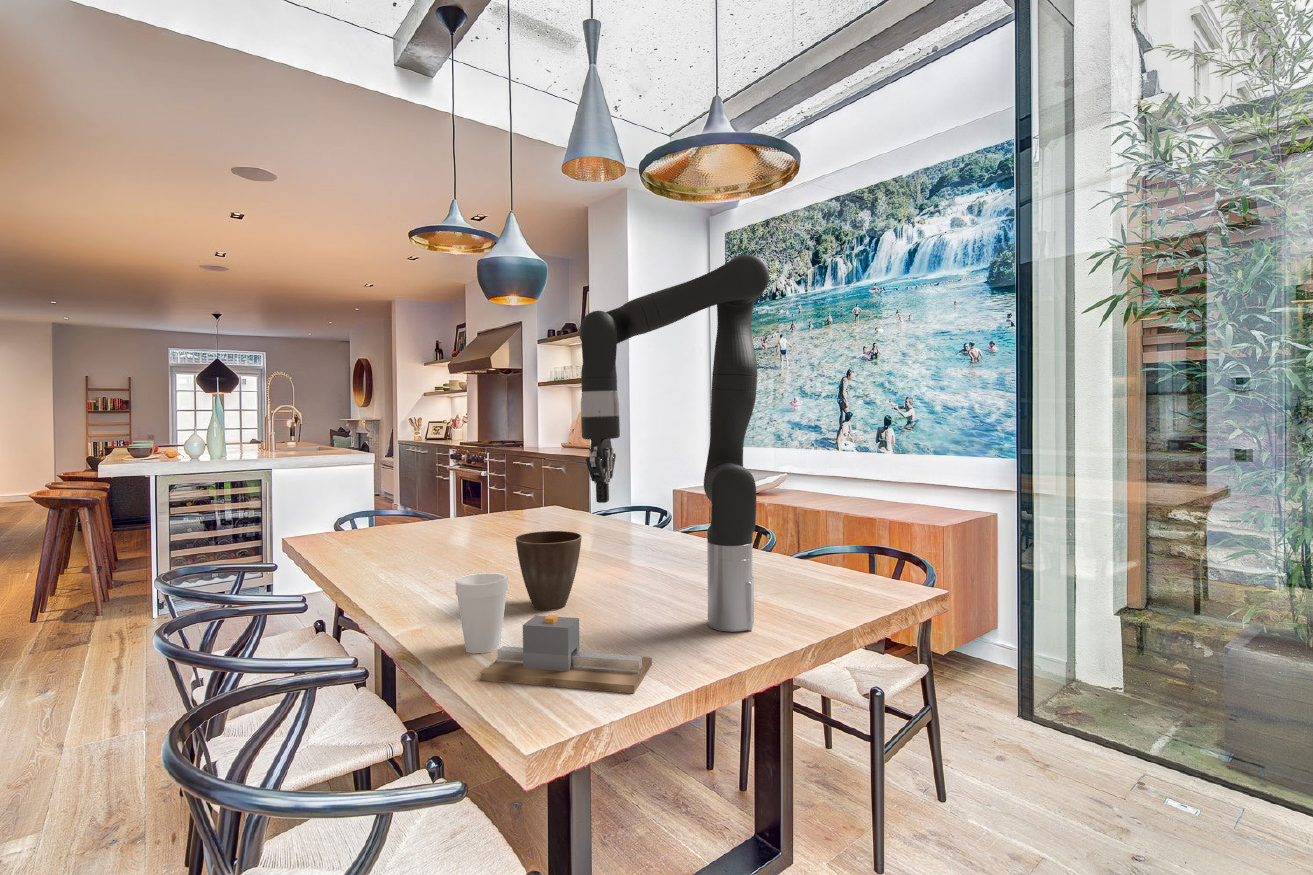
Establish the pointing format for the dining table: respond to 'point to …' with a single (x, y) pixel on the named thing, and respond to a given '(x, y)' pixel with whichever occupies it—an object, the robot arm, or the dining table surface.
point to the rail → (582, 660)
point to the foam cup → (482, 610)
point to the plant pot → (548, 566)
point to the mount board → (567, 677)
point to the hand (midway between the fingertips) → (602, 502)
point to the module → (550, 642)
